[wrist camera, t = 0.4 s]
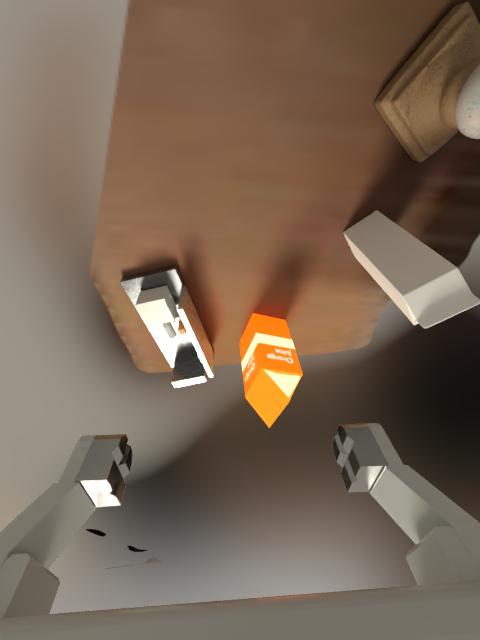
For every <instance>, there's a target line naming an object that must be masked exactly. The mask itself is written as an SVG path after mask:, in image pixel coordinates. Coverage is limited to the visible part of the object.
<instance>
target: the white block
mask: <svg viewBox="0 0 480 640" xmlns="http://www.w3.org/2000/svg"><path fill="white" fill-rule="evenodd" d="M135 306H136V308H137V309H138V311H139V313H140V314H141V316H142V318H143V319H144V321H145V323H146V324H147V326H148V327H149V326H154V325H158V324H162V325H163V327H164V329H165V331H166V333H167V334H168V336H169V338H170V339H173V338H175V337H176V336H177V333H176V331H175V329H174V328H173V326H172V324H171V322H172V321H176V322H180V321H182V319H181V317H180V315H179V312H178V310H177V306H176V304H175V302H174V300H173V298H172V296H171V293H170V291H169V289H168V287H167V285H166V286H162V287H158V288H153V289H149V290H145V291H140V293H139V295H138V298H137V301H136V304H135Z"/></svg>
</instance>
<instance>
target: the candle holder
mask: <svg viewBox="0 0 480 640" xmlns="http://www.w3.org/2000/svg"><path fill="white" fill-rule="evenodd" d="M374 106H375V108H376V109H377V111H378V113H379V114H380V116H381V117H382V119H383V120H384V121H385V123H386V124H387V126H388V127H389V129H390V130H391V131H392V133H393V134H394V136H395V137H396V138H397V140H398V141H399V143H400V144H401V146H402V147H403V148H404V150H405V151H406V153H407V154H408V155H409V156H410V158H411V159H412V160H414V161H417V162H420V163H422V162H423V161H424V160H425V159H427V158H428V157H429V156H430V155H432V154H433V153H435V152H436V151H437V150H438V149H439V148H441V147H442V146H443V145H444V144H445V143H446V142H447V141H448V140H449V139H450V138H452V137H453V136H454V135H455V134H456V133H457V132H458V131H460V132H461V133H462V134H463V135H465V136H467V137H469V138H473V139H480V24H479V22H478V20H477V17H476V15H475V13H474V11H473V9H472V7H471V5H470V4H469V3H468V2H464V3H461V4H458V5H456V6H454V7H453V8H452V9H451V10H450V11H449V12H448V13H447V14H446V16H445V17H444V18H443V19H442V20H441V21H440V22H439V23H438V25H437V26H436V27H435V28H434V29H433V31H432V32H431V33H430V34H429V35H428V37H427V38H426V39H425V40H424V41H423V42H422V44H421V45H420V46H419V47H418V48H417V50H416V51H415V52H414V53H413V54H412V56H411V57H410V58H409V59H408V60H407V61H406V63H405V64H404V65H403V66H402V67H401V69H400V70H399V71H398V72H397V73H396V75H395V76H394V77H393V78H392V79H391V80H390V82H389V83H388V84H387V85H386V86H385V88H384V89H383V90H382V91H381V93H380V94H379V95H378V97H377V98H376V99H375V101H374Z"/></svg>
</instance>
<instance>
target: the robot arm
mask: <svg viewBox="0 0 480 640" xmlns="http://www.w3.org/2000/svg"><path fill="white" fill-rule="evenodd" d="M337 432H338V435H336V436H335V437H334V440H333V452H334V456H335V459H336V462H337V463H338V464H339V465H340V466H341V467H343V468H342V471H341V476H342V478H343V481H344V484H345V487H346V489H347V492H370V494H371V495H372V496H373V497H374V498H375V499H376V501H377V502H378V503H379V504H380V505H381V506H382V507H383V508H384V509H385V510H386V512H387V513H388V514H389V515H390V516H391V517H392V518H393V519H394V521H395V522H396V523H397V524H398V525H399V526H400V527H401V528H402V529H403V530H404V532H405V533H406V534H407V535H408V536H409V537H410V538H411V539H412V540H413V542H414V543H415V544H416V546H415V547H414V548H413V549H412V550H410V552H408V554H407V557H406V559H407V561H408V563H409V566H410V568H411V571H412V573H413V575H414V577H415V580H416V582H417V584H418V585H415V586H403V587H390V588H377V589H364V590H352V591H339V592H326V593H314V594H301V595H288V596H276V597H262V598H249V599H237V600H224V601H212V602H199V603H186V604H173V605H161V606H147V607H135V608H122V609H110V610H96V611H84V612H71V613H59V614H49V613H50V610H51V607H52V604H53V602H54V599H55V596H56V593H57V590H58V587H59V585H60V582H59V579H58V577H56V576H55V575H54V574H52V573H51V572H50V571H49V570H48V569H49V567H50V566H51V565H52V563H53V562H54V561H55V560H56V558H57V557H58V556H59V555H60V553H61V552H62V551H63V550H64V548H65V547H66V546H67V545H68V543H69V542H70V541H71V540H72V538H73V537H74V536H75V534H76V533H77V532H78V530H79V529H80V528H81V527H82V526H83V524H84V523H85V522H86V520H87V519H88V518H89V517H90V516H91V514H92V513H93V512H94V510H95V509H96V508H95V507H104V506H116V505H120V504H121V501H122V497H123V494H124V490H125V486H126V484H125V482H124V480H123V479H124V478H125V476H126V475H127V474H128V473H129V472H130V468H131V464H132V449H131V446H129V445H128V444H127V441H128V438H127V436H126V434H123V435H122V434H119V435H89V436H82V437H81V438H80V440H78V442H77V444H76V446H75V449H74V451H73V453H72V455H71V457H70V459H69V461H68V463H67V465H66V467H65V469H64V472H63V474H62V476H61V478H60V480H59V482H58V483H55V484H52V485H51V486H50V487H49V488H48V489H47V490H46V491H45V492H44V493H43V494H42V495H41V496H39V497H38V498H37V499H36V500H35V501H34V502H33V503H32V504H31V505H29V506H28V507H27V508H26V509H25V510H24V511H23V512H22V513H21V514H20V515H19V516H17V518H15V519H14V520H13V521H12V522H11V523H10V524H9V525H8V526H6V528H4V529H3V530H2V531H1V532H0V640H480V523H479V522H477V521H476V520H475V519H474V518H473V517H471V516H470V515H469V514H467V513H466V512H465V511H464V510H463V509H461V508H460V507H459V506H458V505H456V504H455V503H454V502H453V501H451V500H450V499H449V498H447V497H446V496H445V495H444V494H443V493H441V492H440V491H439V490H438V489H436V488H435V487H434V486H433V485H431V484H430V483H429V482H428V481H426V480H425V479H424V478H423V477H421V476H420V475H419V474H418V473H416V472H415V471H414V470H413V469H411V468H410V467H409V466H408V465H403V463H402V462H401V460H400V458H399V456H398V455H397V453H396V451H395V449H394V447H393V446H392V444H391V442H390V440H389V439H388V437H387V435H386V433H385V432H384V430H383V428H382V426H381V425H379V424H377V423H371V424H349V425H340V426H338V428H337Z"/></svg>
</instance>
